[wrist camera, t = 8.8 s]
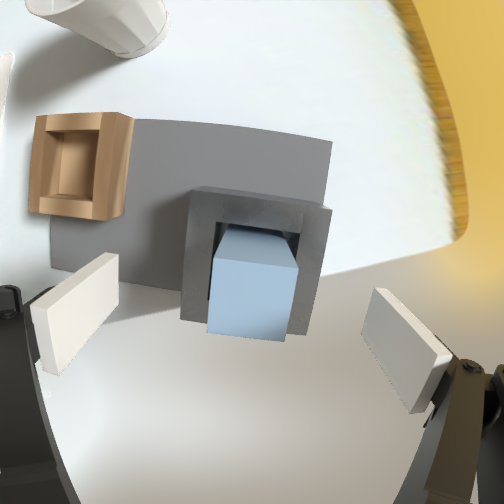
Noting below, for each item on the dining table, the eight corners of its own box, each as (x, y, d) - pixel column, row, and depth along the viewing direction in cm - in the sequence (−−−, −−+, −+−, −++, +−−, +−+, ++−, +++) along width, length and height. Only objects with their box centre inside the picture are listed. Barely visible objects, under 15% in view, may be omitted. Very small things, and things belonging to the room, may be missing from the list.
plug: (223, 271, 25) (206, 332, 16) (229, 222, 24) (213, 257, 15) (273, 277, 25) (284, 341, 16) (280, 229, 24) (298, 268, 15)
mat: (56, 265, 27) (52, 267, 26) (63, 120, 23) (58, 120, 22) (301, 303, 27) (302, 307, 27) (330, 142, 24) (332, 141, 23)
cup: (124, 83, 22) (46, 38, 11) (85, 34, 21) (12, -13, 9) (197, 26, 21) (163, -54, 10) (151, -18, 20) (106, -89, 8)
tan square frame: (50, 206, 24) (28, 211, 21) (58, 120, 22) (36, 116, 19) (124, 214, 25) (106, 220, 21) (134, 118, 23) (117, 112, 19)
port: (192, 292, 26) (180, 319, 21) (203, 185, 24) (191, 189, 19) (297, 306, 27) (306, 335, 22) (317, 202, 24) (332, 210, 19)
